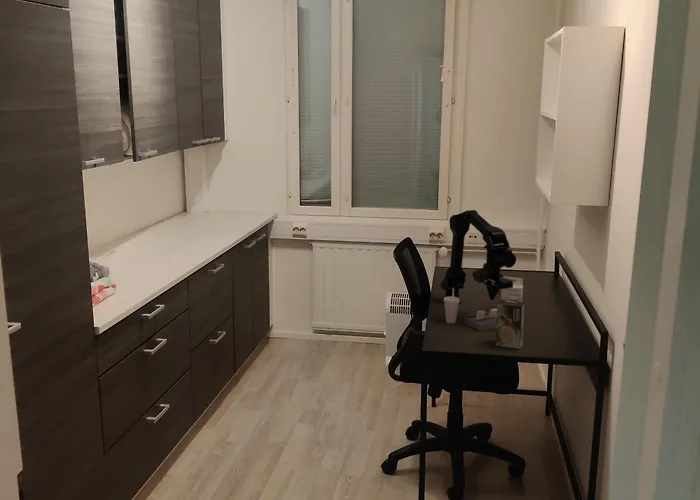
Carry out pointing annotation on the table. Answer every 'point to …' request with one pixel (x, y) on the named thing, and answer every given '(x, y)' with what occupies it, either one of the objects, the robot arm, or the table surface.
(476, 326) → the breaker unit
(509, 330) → the coffee box
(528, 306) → the table surface
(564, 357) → the table surface
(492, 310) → the breaker paddles
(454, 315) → the smoothie
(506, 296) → the ink cartridge box
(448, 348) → the table surface
